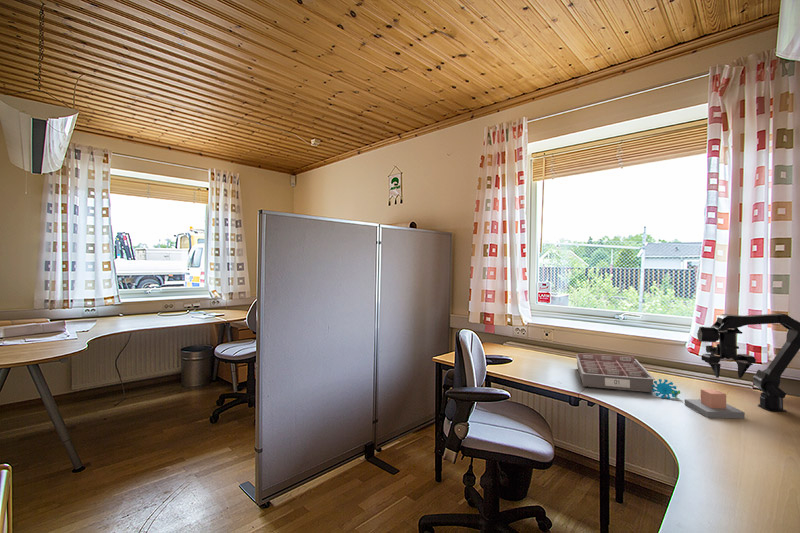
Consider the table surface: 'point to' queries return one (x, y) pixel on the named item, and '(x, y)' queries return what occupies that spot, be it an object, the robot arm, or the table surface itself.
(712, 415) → the plinth
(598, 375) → the organizer tray
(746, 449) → the table surface
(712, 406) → the salmon pink cube
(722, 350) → the robot arm
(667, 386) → the blue spiky toy
